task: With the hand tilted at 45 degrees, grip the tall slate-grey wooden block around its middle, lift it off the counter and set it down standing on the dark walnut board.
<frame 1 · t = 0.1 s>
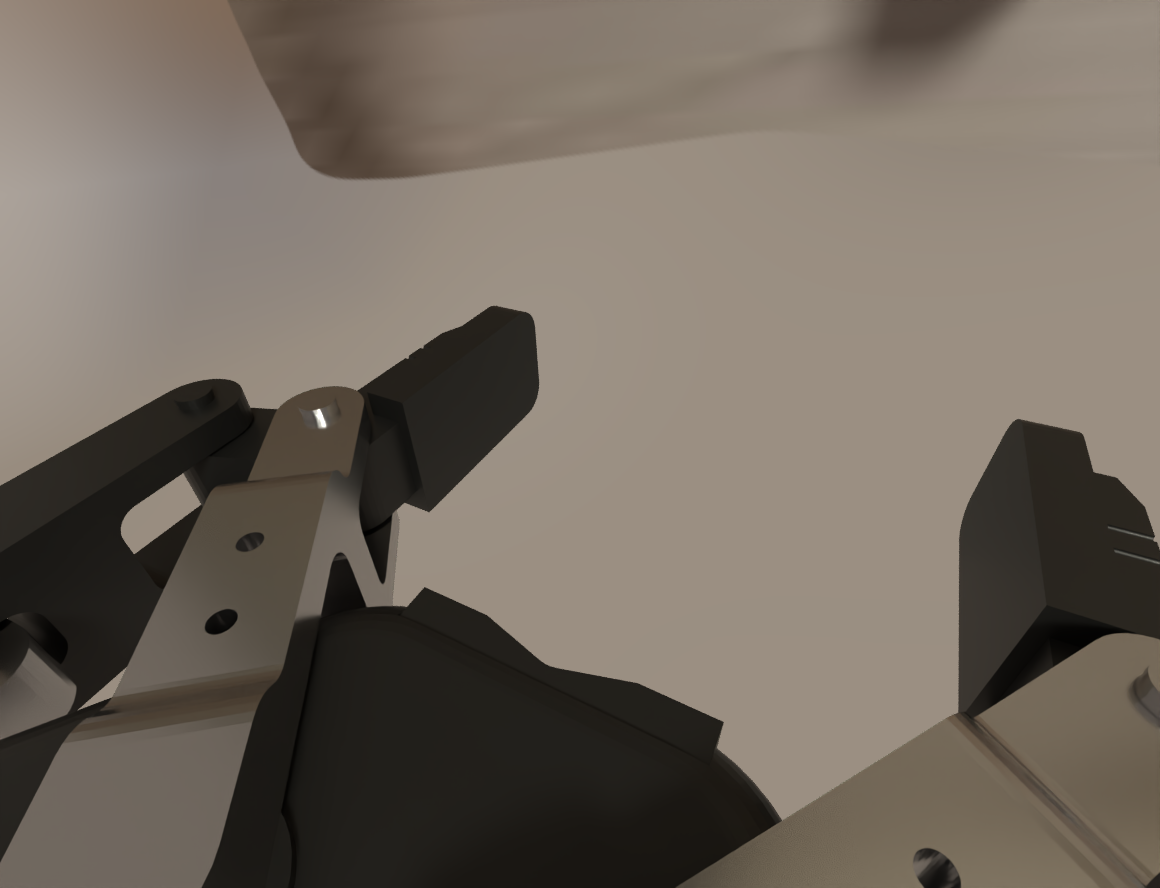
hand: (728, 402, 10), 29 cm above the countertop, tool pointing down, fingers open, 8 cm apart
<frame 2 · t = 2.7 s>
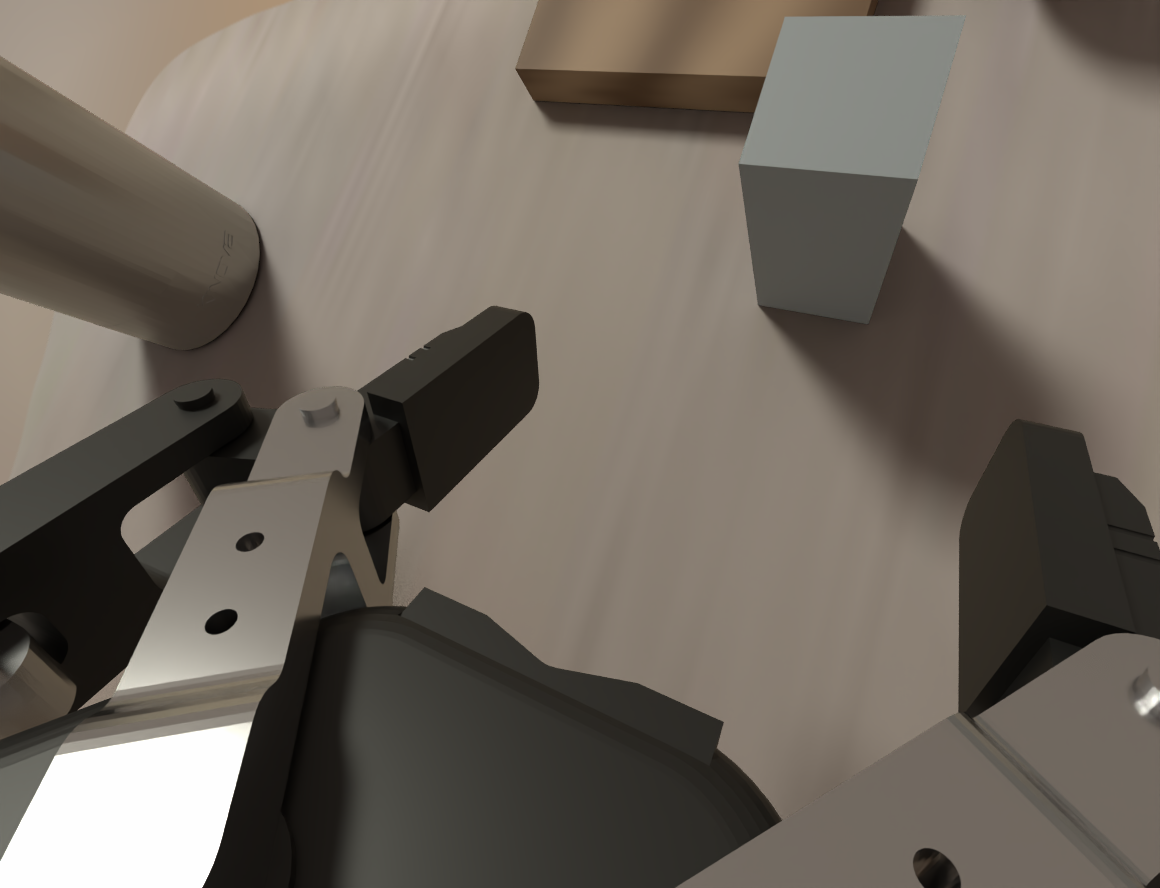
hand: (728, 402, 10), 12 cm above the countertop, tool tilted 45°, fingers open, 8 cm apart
slate block: (826, 264, 22), on the countertop
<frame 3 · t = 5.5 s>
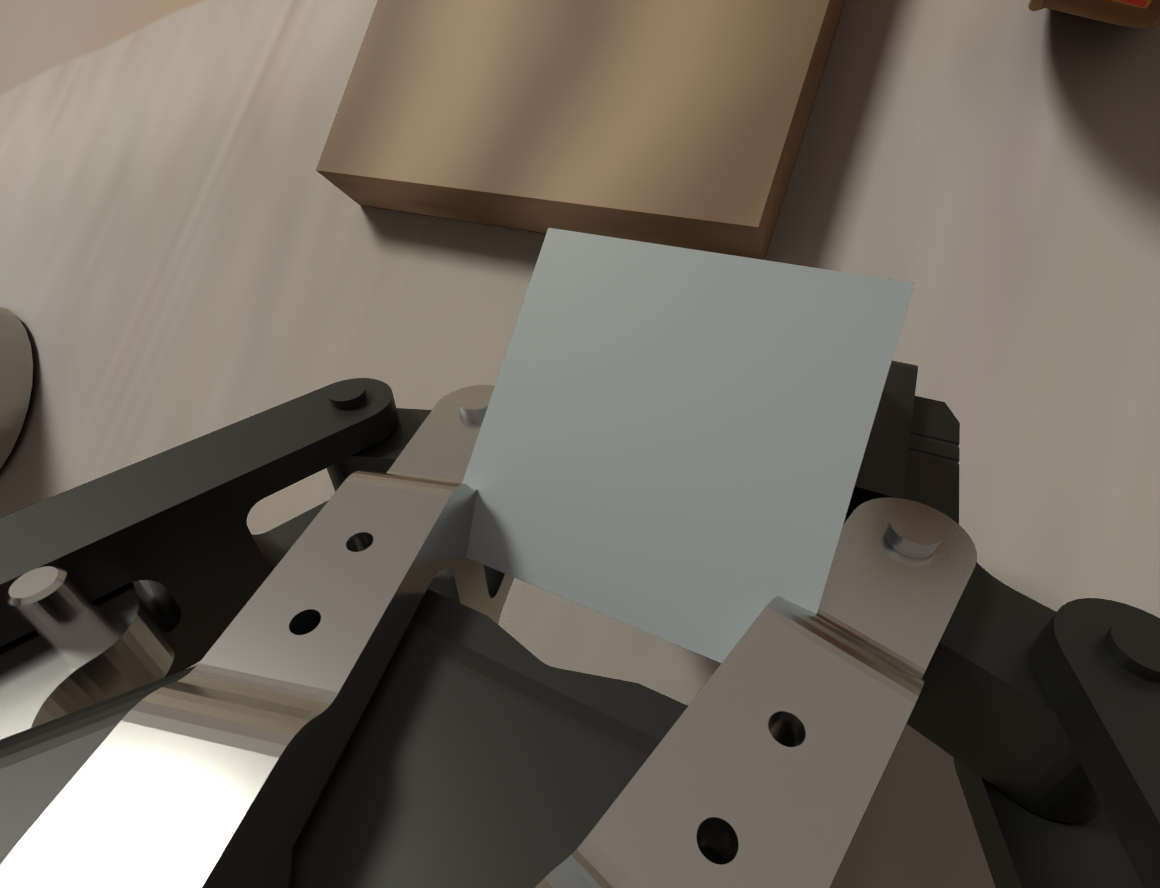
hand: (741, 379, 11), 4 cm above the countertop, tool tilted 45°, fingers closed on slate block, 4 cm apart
slate block: (732, 497, 15), on the countertop, touching gripper
walnut board: (601, 22, 18), on the countertop
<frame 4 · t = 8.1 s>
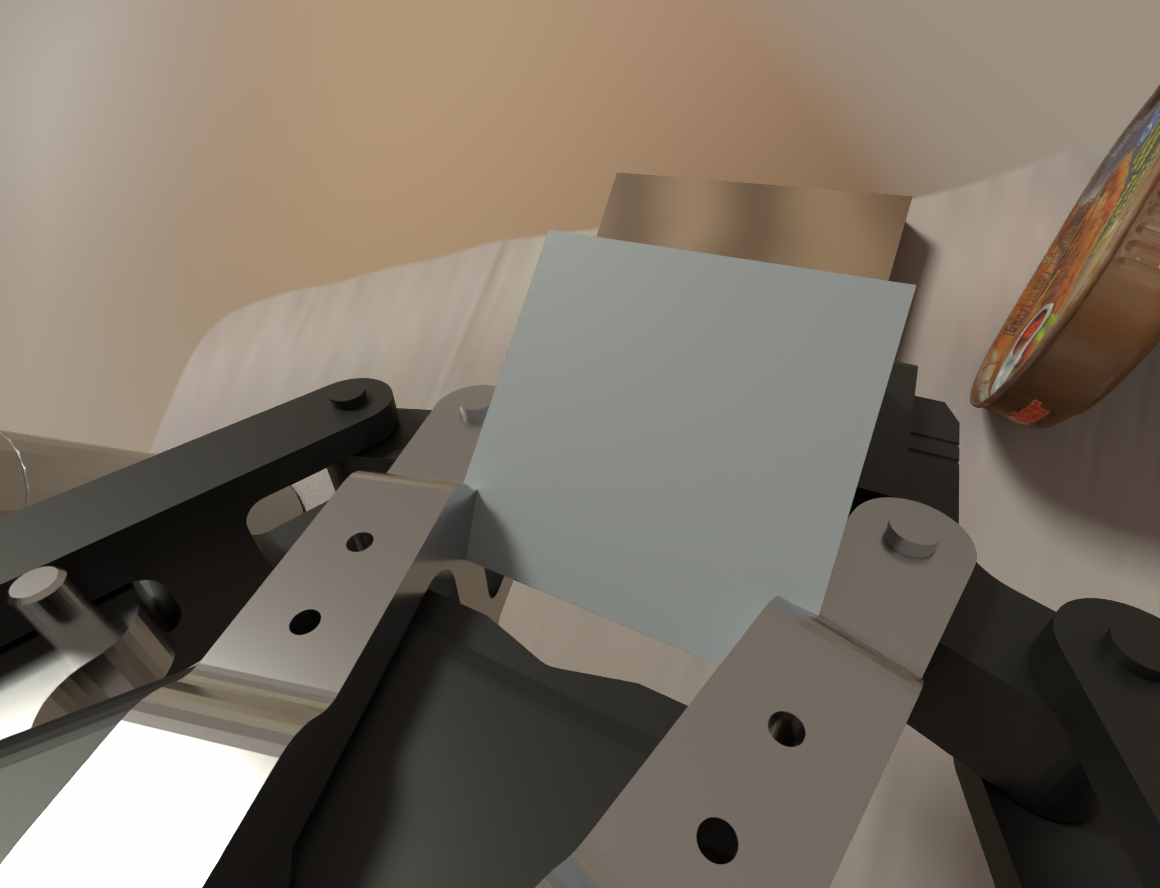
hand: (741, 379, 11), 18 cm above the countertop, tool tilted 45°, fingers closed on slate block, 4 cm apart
tin: (1074, 286, 25), on the countertop
slate block: (733, 498, 15), point 14 cm above the countertop, touching gripper
walnut board: (714, 335, 29), on the countertop
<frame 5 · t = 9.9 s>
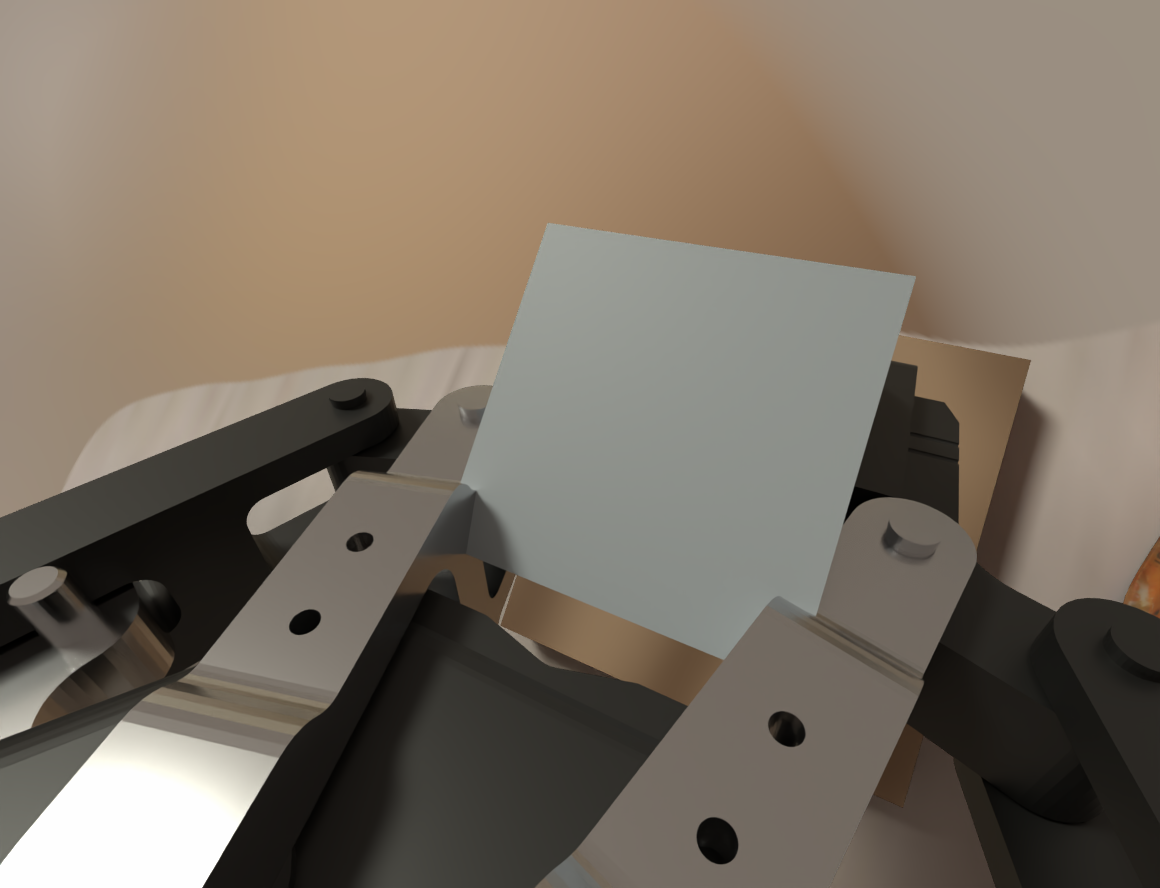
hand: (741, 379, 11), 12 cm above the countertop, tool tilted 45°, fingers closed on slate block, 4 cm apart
slate block: (733, 495, 14), point 8 cm above the countertop, touching gripper
walnut board: (741, 509, 22), on the countertop
when the fingers open (7 cm above the countertop, at t = 11.0 s): slate block drops 1 cm, resting on walnut board.
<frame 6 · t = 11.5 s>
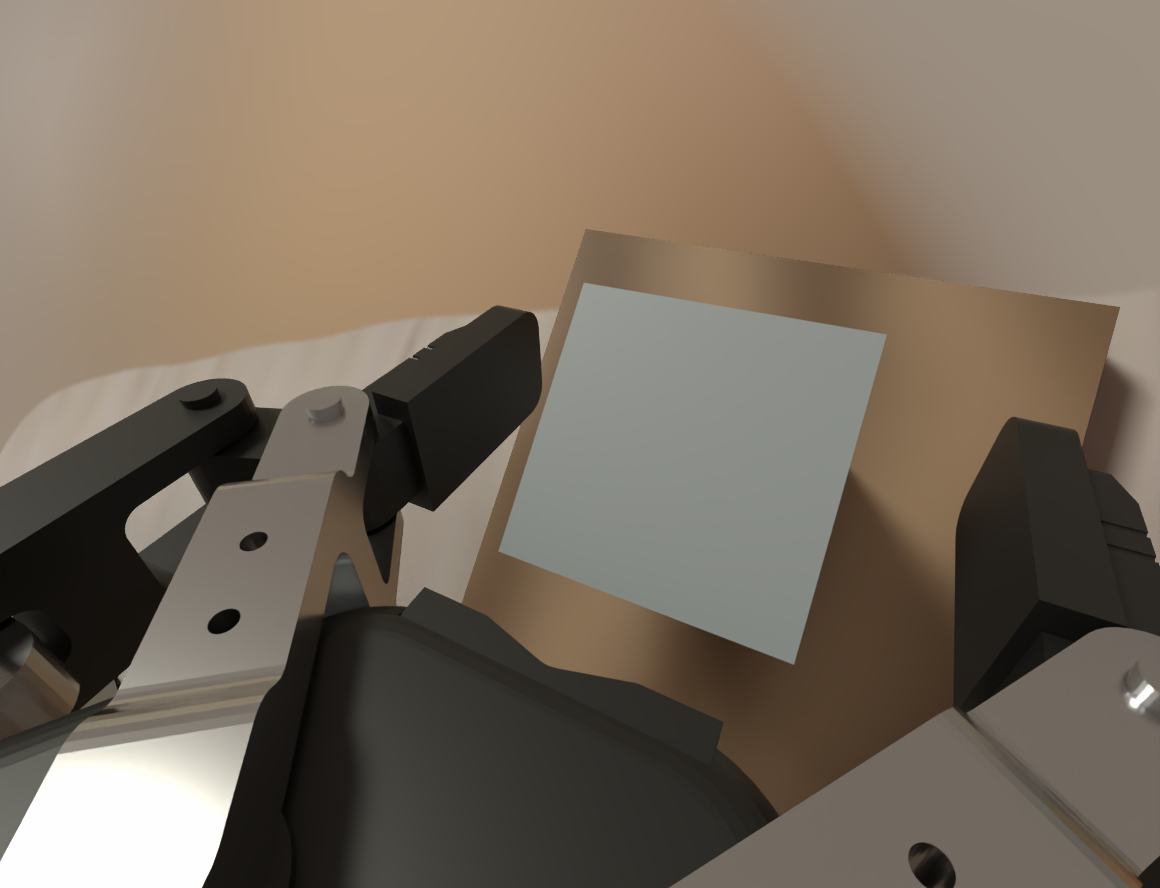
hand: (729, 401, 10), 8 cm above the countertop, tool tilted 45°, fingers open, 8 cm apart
slate block: (737, 502, 16), point 2 cm above the countertop, touching walnut board
walnut board: (742, 506, 18), on the countertop
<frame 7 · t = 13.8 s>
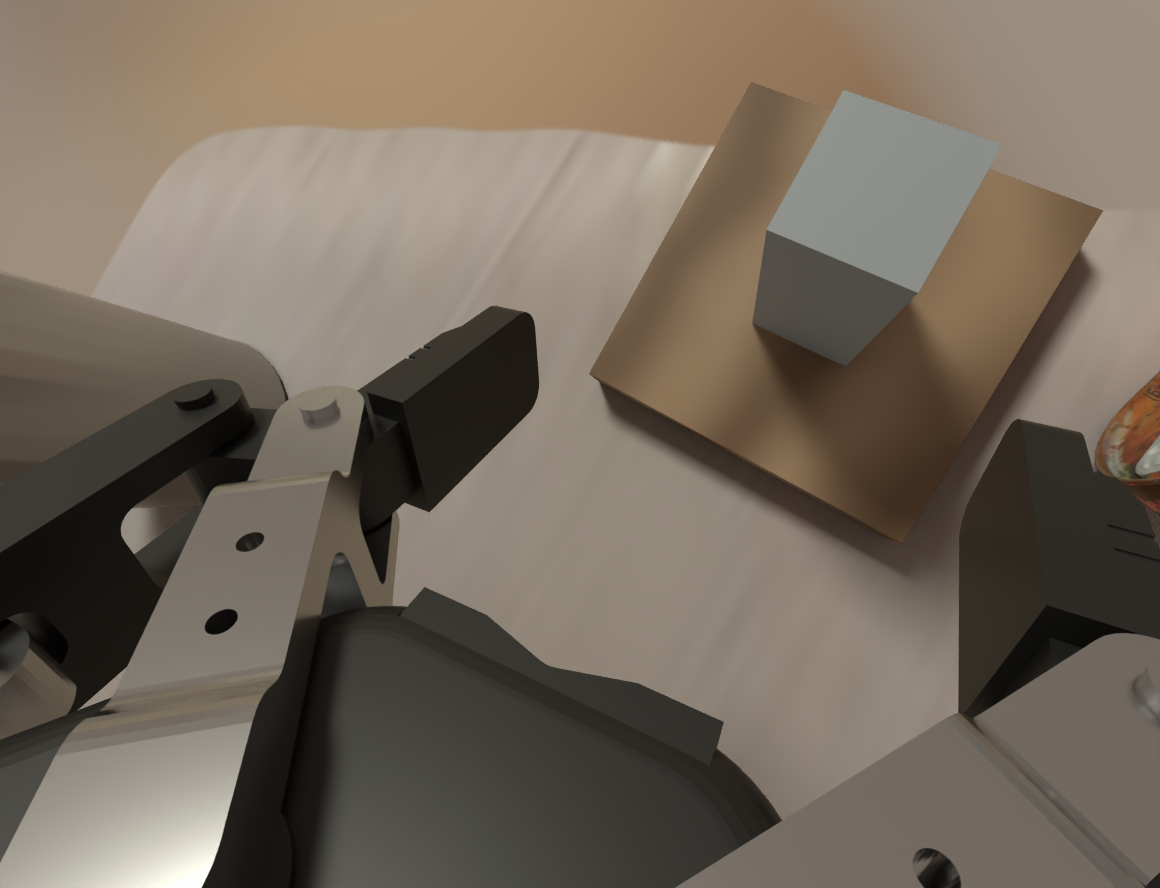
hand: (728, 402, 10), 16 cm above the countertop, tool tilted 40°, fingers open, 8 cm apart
slate block: (822, 300, 23), point 2 cm above the countertop, touching walnut board
walnut board: (815, 313, 25), on the countertop
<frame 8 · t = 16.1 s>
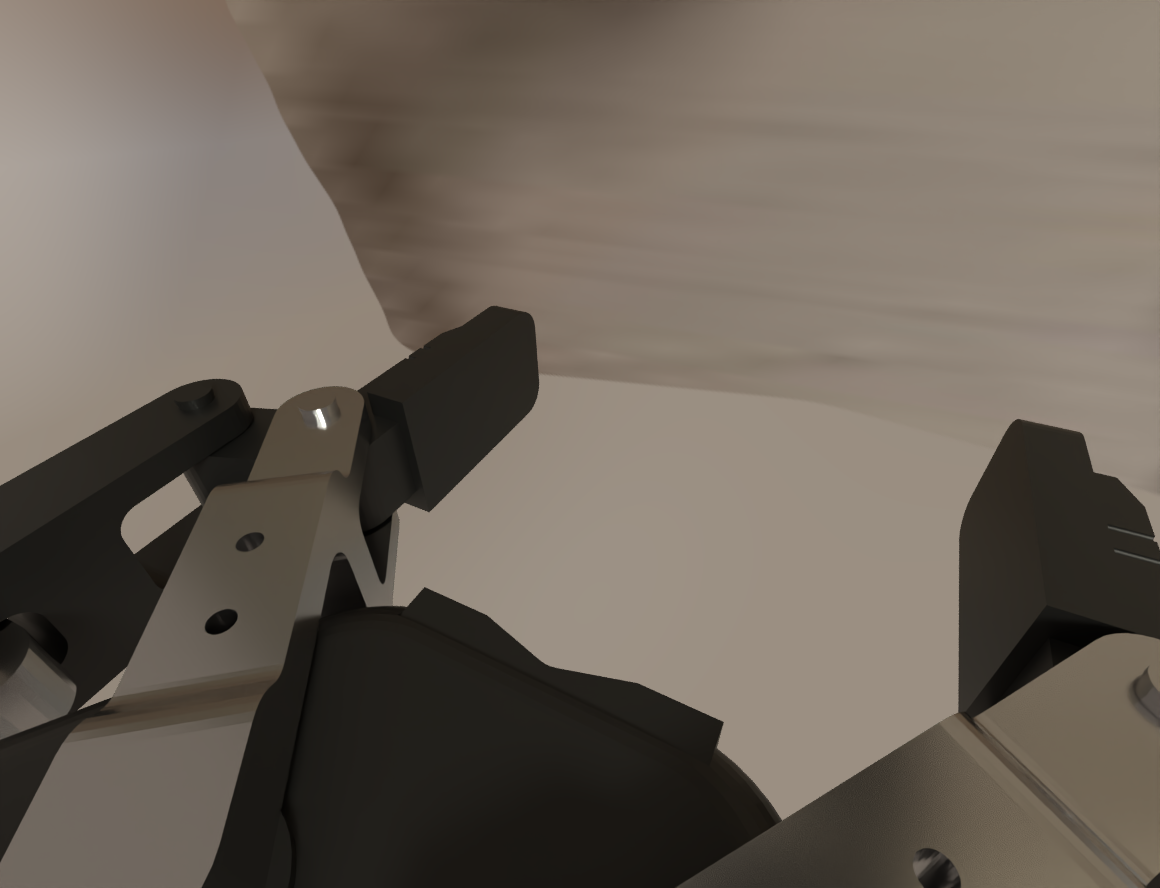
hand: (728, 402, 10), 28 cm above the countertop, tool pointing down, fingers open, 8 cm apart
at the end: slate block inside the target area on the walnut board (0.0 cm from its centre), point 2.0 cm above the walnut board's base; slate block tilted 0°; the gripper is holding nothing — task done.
